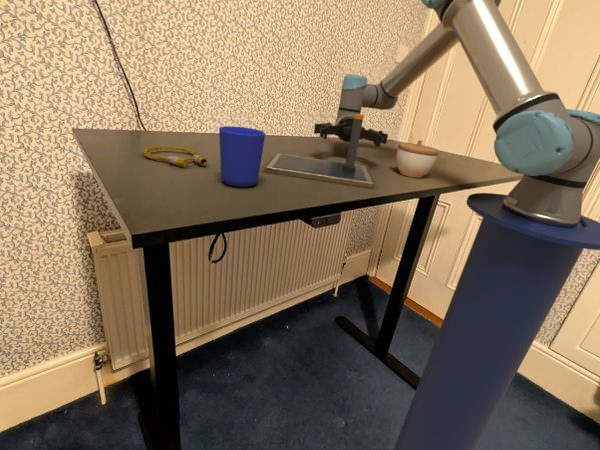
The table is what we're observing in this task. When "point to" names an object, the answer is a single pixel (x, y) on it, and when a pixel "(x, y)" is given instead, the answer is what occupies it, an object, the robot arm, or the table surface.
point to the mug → (240, 155)
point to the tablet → (318, 170)
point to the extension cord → (176, 160)
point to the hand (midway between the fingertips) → (352, 137)
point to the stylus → (353, 144)
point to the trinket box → (415, 159)
